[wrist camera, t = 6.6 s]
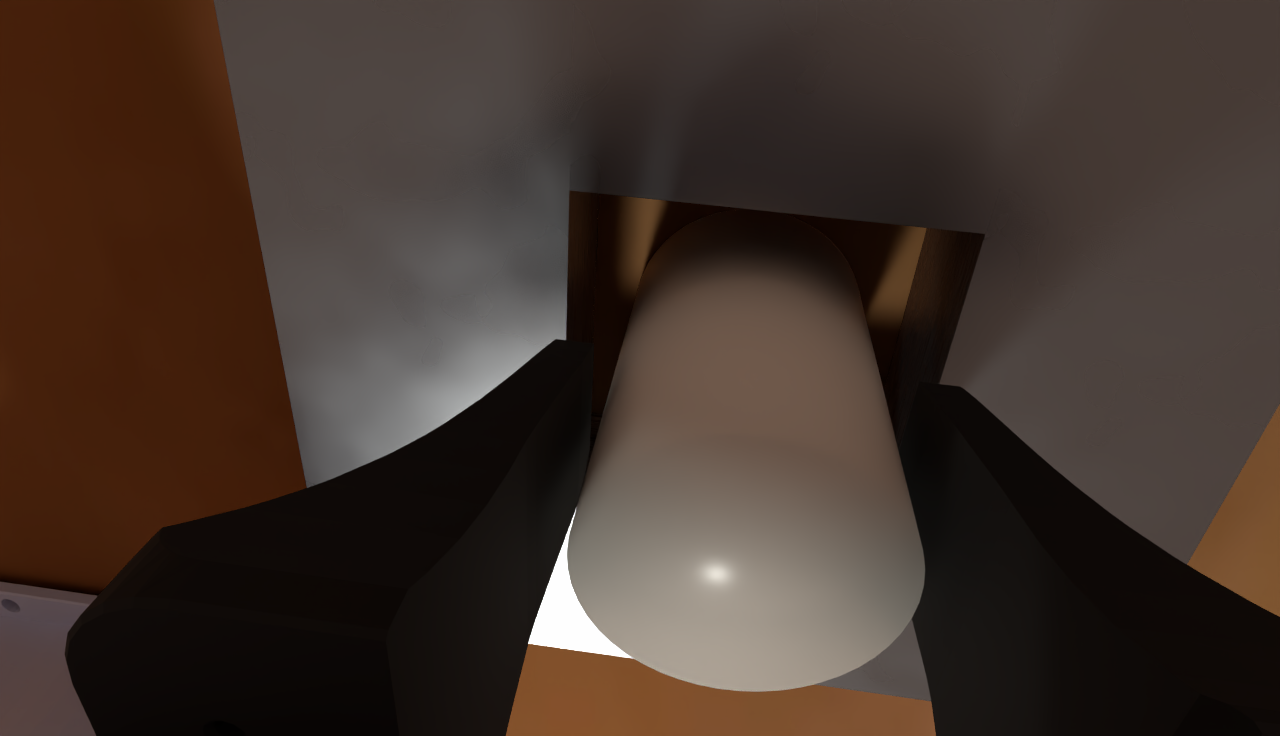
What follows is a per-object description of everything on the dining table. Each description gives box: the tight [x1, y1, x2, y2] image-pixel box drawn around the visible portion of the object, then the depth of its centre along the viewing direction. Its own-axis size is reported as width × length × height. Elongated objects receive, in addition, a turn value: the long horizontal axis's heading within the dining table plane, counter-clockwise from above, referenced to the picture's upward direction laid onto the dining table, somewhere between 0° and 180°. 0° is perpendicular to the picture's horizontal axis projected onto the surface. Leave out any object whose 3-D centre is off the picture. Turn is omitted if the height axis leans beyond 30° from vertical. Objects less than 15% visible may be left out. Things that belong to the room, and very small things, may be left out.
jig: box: [214, 0, 1280, 701], centre depth 14 cm, size 16×14×3 cm
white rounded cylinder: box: [567, 209, 925, 691], centre depth 13 cm, size 4×4×7 cm
